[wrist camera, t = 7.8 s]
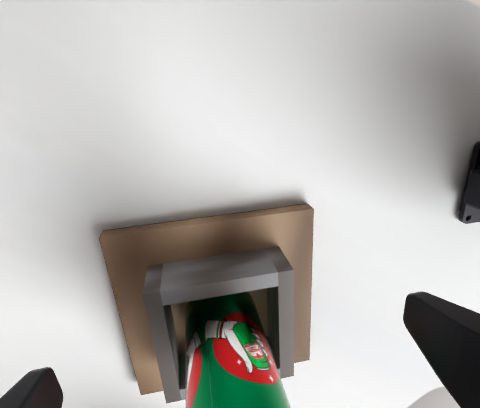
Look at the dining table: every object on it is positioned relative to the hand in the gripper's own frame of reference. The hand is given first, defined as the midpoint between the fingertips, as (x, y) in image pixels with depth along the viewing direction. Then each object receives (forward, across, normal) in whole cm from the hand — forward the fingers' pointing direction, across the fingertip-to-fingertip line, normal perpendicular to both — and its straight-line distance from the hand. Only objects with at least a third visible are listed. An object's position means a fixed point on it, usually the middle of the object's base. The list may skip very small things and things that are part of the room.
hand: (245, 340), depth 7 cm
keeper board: (+13, 0, +9) cm, 16 cm away
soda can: (+12, 0, +9) cm, 15 cm away
